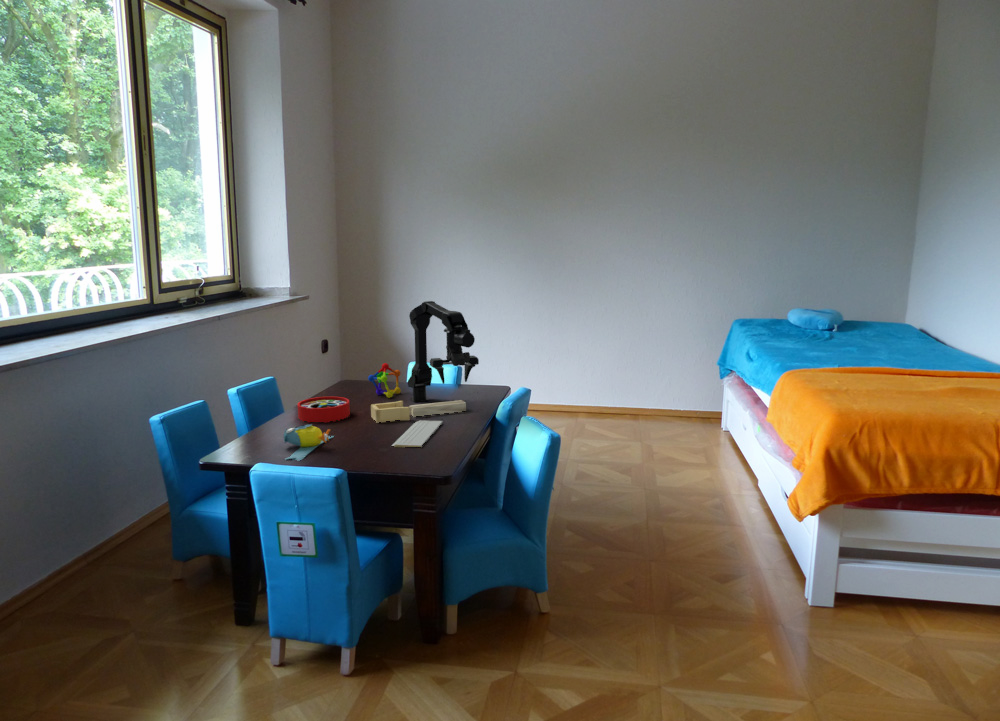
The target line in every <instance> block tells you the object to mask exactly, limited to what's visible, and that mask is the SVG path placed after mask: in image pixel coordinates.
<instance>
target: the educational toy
mask: <svg viewBox="0 0 1000 721" xmlns="http://www.w3.org/2000/svg"><path fill="white" fill-rule="evenodd" d="M389 365H390V364H388V363H387V362H384V363H382V364H381V368H380V369H379V370H378V371H377V372H375V374H369V375H368V377H367V380H368V382H371V383H372V384H373V386H374V387H375V389H376V390H375V394H376V395H377V396H382V395H385V396H386V398H388V399H391V398H392V397H393V396H394V394H397V395H400V393H401V391H402V389H401V388H400V387H399V377H400V375H401V374H402V373H401V371H400V370H399V369H396V370H394V369H392V368H391V367H390V366H389ZM387 370H388V371H390V372H387ZM388 376H395V387H394V389H390V388H389V386H388V383H387V381H388ZM376 380H377V381H378V384H377V383H376ZM382 383H384V386H385V389H384V390H383V389H382V387H381V386H382ZM390 397H391V398H390Z"/></svg>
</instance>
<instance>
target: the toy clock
mask: <svg viewBox="0 0 1000 721" xmlns="http://www.w3.org/2000/svg"><path fill="white" fill-rule="evenodd" d="M350 405H351V404H350V399H349V398H346V397H342V396H318V397H316V396H315V397H311V398H307V399H304V400H303V399H302V400H301V401H299V402H297V418H299V419H300V420H299V419H298V420H299V421H301V420H302V422H304V421H307V422H306V423H310V422H324V423H331V422H330V421H333V422H337V421H336V420H338V421H341V420H340V419H342V420H344V418H345V419H347V418H349V417H350V416H351V409H350ZM349 415H350V416H349ZM348 416H349V417H348ZM346 417H347V418H346Z"/></svg>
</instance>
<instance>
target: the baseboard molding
mask: <svg viewBox="0 0 1000 721" xmlns="http://www.w3.org/2000/svg"><path fill="white" fill-rule="evenodd" d="M417 419H418V417H415V419H413V420H412V422H413V424H411V426H410V427H409V428H408V429H406V431H405V432H404V433H403V434H401V436H400V437H398V438H397V439H396V440H395V442H393V443H392V445H391V446H394V447H393V448H405V447H421V448H422V447H423V446H424V445H425V444H426V443H427V441H429V440H430V438H431V437H432V436H433V435H434V434H435V433H436V431H437V430H438V429H439V428H440V427H441V426H440V425H443V420H427V419H431V416H425V418H421V417H419V419H423V420H418V421H416V420H417ZM424 419H426V420H424ZM414 422H415V423H414ZM439 426H440V427H439ZM432 434H433V435H432ZM431 435H432V436H431ZM430 436H431V437H430ZM425 442H426V443H425ZM424 443H425V444H424ZM423 444H424V445H423ZM422 445H423V446H422Z"/></svg>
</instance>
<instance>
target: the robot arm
mask: <svg viewBox="0 0 1000 721" xmlns="http://www.w3.org/2000/svg"><path fill="white" fill-rule="evenodd" d="M433 316H434V317H435V318H437V319H439V320H440V321H441V324H443V326H444V327H445V328H444V329H443V332H444V333H446V334H445V335H446V346H445V347H446V348H445V349H446V359H442V358H440V357H436V358H435V357H434V358H430V359H429V364H428V353H427V352H428V349H427V348H428V347H427V329H428V327H429V326H430V324H431V319H432V317H433ZM409 320H410V325H411V327H412V328H413V329H414V358H415V359H414V361H415V362H414V365H413V367H412V368H411V375H410V377H409V379H408V381H407V386H408V388H410V389H411V388H412V397H411V398H410V400H411V401H412V402H414V403H418V402H419V403H420V402H421V403H422V402H429V400H430V399H429V398H427V387H431V384H432V379H433V374H432V373H433V369H432V368H434V369H435V370H436V371H437V373H438V375H439V378H440V381H441V382H442V384H443V385H445V373H444V369H445V368H444V367H443V366H444V365H453V366H454V367H458V366H462V367H463V366H464V376H463V377H464V382H465V383H466V382H468V379H469V376H470V372H471V370H472V369H473V368H475V367H476V365H479V362H480V361H479V358H478V357H477V356H475V355H471V353H470V352H469V351H466V352H463V348H462V347H464V348H468V349H469V348H470V347H472V346H474V343H475V341H476V340H475V337H474V334H473V333H471V329H469V327H468V324H467V322H466V320H465V317H464V315H463V313H462V312H460V311H456V310H449V309H447V308H445V307H443V306H442V305H440V304H438V303H437V302H436V301H432V300H427V301H423V302H422V303H421V304H420V305H418V306H415V307H414V308H413V309H412V310H411V311H410V312H409ZM430 366H431V367H430Z"/></svg>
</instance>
